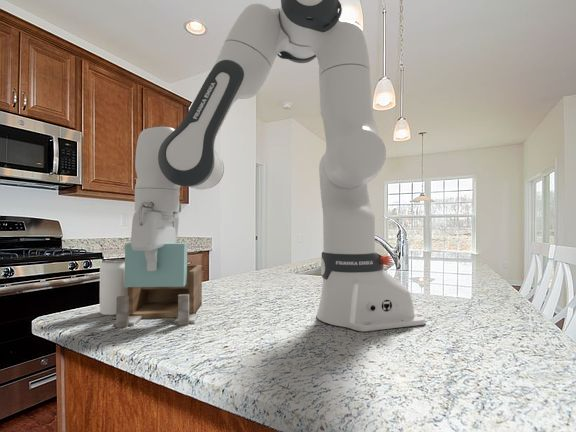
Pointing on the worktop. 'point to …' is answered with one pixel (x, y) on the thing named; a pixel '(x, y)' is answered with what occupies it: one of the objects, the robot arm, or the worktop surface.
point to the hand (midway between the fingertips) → (156, 268)
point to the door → (168, 271)
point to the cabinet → (162, 301)
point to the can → (111, 285)
